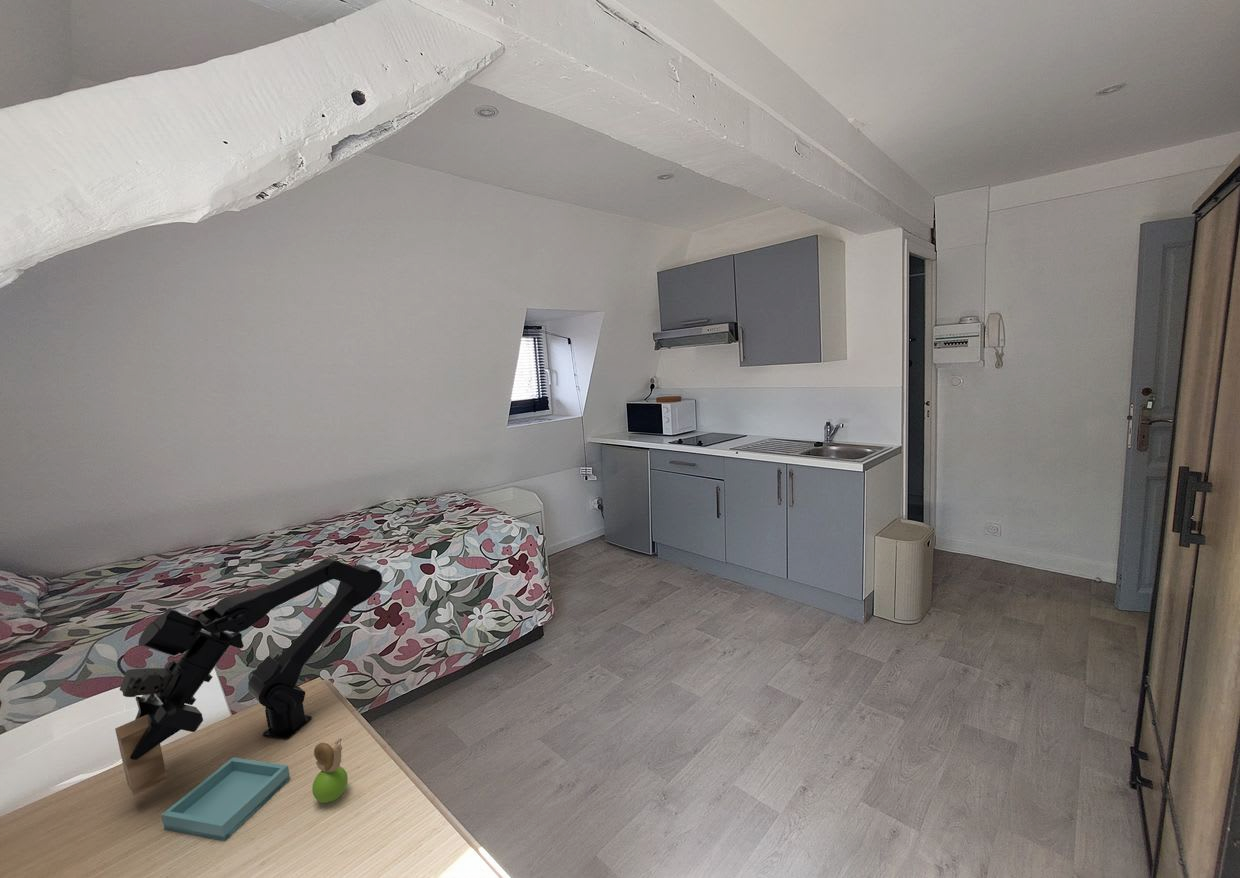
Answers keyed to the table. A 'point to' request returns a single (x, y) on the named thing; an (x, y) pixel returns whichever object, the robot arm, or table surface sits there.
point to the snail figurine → (329, 773)
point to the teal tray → (226, 798)
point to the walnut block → (147, 766)
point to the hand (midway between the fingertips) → (129, 753)
